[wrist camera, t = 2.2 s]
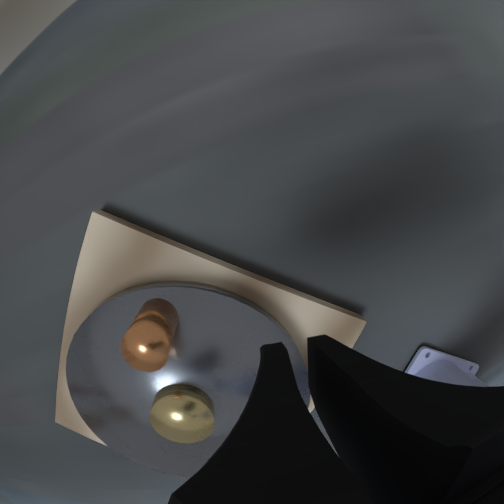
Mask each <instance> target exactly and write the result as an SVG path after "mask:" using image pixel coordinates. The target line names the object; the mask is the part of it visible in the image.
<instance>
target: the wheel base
mask: <svg viewBox="0 0 504 504" xmlns="http://www.w3.org/2000/svg"><path fill="white" fill-rule="evenodd" d="M171 280H179V281H193V282H199V283H204V284H209V285H214V286H217V287H220V288H223V289H226V290H230V291H232V292H234V293H237V294H239V295H241V296H243V297H245V298H248V299H249V300H251V301H252V302H254V303H256V304H257V305H259V306H261V307H262V308H264V309H265V310H266V311H267V312H268V313H270V314H271V315H272V316H273V317H275V318H276V319H277V320H278V321H279V322H280V324H281V325H282V326H283V327H284V328H285V329H286V330H287V331H288V333H289V334H290V336H291V337H292V339H293V340H294V342H295V344H296V346H297V348H298V350H299V352H300V354H301V356H302V358H303V360H304V362H305V365H306V368H307V371H308V354H307V338H308V337H313V336H318V335H324V334H325V335H328V336H330V337H331V338H333V339H335V340H337V341H339V342H340V343H342V344H344V345H346V346H348V347H349V348H351V349H352V347H353V346H354V344H355V342H356V340H357V339H358V337H359V335H360V333H361V332H362V330H363V328H364V326H365V324H366V322H367V321H366V320H365V319H364V318H363V317H362V316H361V315H360V314H357V313H355V312H352V311H350V310H347V309H344V308H342V307H339V306H337V305H334V304H331V303H329V302H326V301H324V300H321V299H318V298H316V297H313V296H311V295H308V294H305V293H303V292H300V291H298V290H295V289H293V288H290V287H288V286H285V285H282V284H280V283H277V282H275V281H272V280H270V279H267V278H265V277H262V276H260V275H257V274H255V273H252V272H250V271H247V270H245V269H242V268H240V267H237V266H235V265H232V264H230V263H227V262H225V261H222V260H220V259H217V258H215V257H213V256H210V255H208V254H205V253H203V252H200V251H198V250H195V249H193V248H190V247H188V246H186V245H183V244H181V243H178V242H176V241H174V240H171V239H169V238H166V237H164V236H161V235H159V234H157V233H154V232H152V231H150V230H147V229H145V228H142V227H140V226H138V225H135V224H133V223H130V222H128V221H126V220H123V219H121V218H119V217H116V216H114V215H112V214H109V213H107V212H105V211H102V210H97V211H93V212H92V215H91V218H90V221H89V224H88V228H87V231H86V234H85V238H84V241H83V245H82V249H81V252H80V256H79V260H78V264H77V268H76V272H75V277H74V281H73V285H72V290H71V295H70V300H69V305H68V310H67V316H66V321H65V327H64V334H63V340H62V347H61V355H60V363H59V373H58V384H57V397H56V418H55V422H57V423H59V424H61V425H63V426H65V427H67V428H69V429H71V430H73V431H75V432H77V433H79V434H81V435H83V436H86V437H88V438H90V439H92V440H95V441H97V442H99V443H102V444H104V445H106V444H105V443H104V442H103V441H102V440H100V439H99V438H98V437H97V436H96V435H95V434H94V433H93V432H92V431H91V429H90V428H89V427H88V426H87V424H86V423H85V422H84V420H83V419H82V418H81V416H80V414H79V413H78V411H77V409H76V407H75V405H74V403H73V401H72V398H71V396H70V392H69V389H68V385H67V378H66V358H67V354H68V349H69V346H70V343H71V341H72V339H73V336H74V334H75V333H76V331H77V330H78V328H79V327H80V325H81V324H82V323H83V322H84V320H85V319H86V318H87V317H88V316H89V315H90V314H91V313H92V312H93V311H94V310H95V309H96V308H97V307H98V306H99V305H100V304H101V303H103V302H104V301H105V300H107V299H108V298H110V297H111V296H113V295H115V294H117V293H119V292H121V291H123V290H125V289H128V288H131V287H134V286H137V285H140V284H145V283H151V282H156V281H171ZM314 407H315V406H314V403H313V400H312V397H311V394H310V403H309V407H308V410H309V412H310V413H311V411H312V410H313V409H314ZM106 446H107V445H106Z"/></svg>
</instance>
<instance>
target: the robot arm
mask: <svg viewBox="0 0 504 504" xmlns="http://www.w3.org/2000/svg"><path fill="white" fill-rule="evenodd" d="M307 354H308V387H309V390H310V394H311V397H312V400H313V403H314V406H315V409H316V411H317V413H318V415H319V418H320V420H321V422H322V424H323V426H324V428H325V430H326V432H327V434H328V436H329V438H330V440H331V442H332V444H333V446H334V448H335V450H336V452H337V454H338V455H337V454H336V453H335V452H334V450H333V449H332V447H331V446H330V444H329V443H328V441H327V440H326V438H325V437H324V435H323V434H322V432H321V431H320V429H319V428H318V426H317V424H316V422H315V421H314V419H313V417H312V415H311V414H310V412H309V410H308V408H307V406H306V404H305V402H304V400H303V398H302V396H301V394H300V392H299V389H298V386H297V383H296V379H295V376H294V372H293V368H292V364H291V361H290V357H289V354H288V350H287V349H286V347H285V346H284V344H283V343H282V342H278V343H272V344H265V345H262V346H261V347H260V364H259V369H258V373H257V377H256V380H255V383H254V386H253V389H252V391H251V394H250V397H249V399H248V401H247V404H246V406H245V408H244V410H243V412H242V414H241V415H240V417H239V419H238V421H237V423H236V424H235V426H234V427H233V429H232V430H231V432H230V433H229V435H228V436H227V438H226V439H225V441H224V442H223V443H222V445H221V446H220V447H219V448H218V449H217V451H216V452H215V453H214V454H213V455H212V456H211V458H210V459H209V460H208V461H207V462H206V463H205V464H204V465H203V466H202V468H201V469H200V470H199V471H198V472H196V473H195V474H194V475H193V476H192V477H191V478H190V479H189V480H187V481H186V482H185V483H184V484H183V485H182V486H181V487H179V488H178V489H177V490H176V491H175V492H173V493H172V495H171V497H170V499H169V502H168V504H504V386H500V387H488V386H487V385H486V384H485V383H483V382H482V381H481V380H480V379H479V378H477V377H476V376H475V374H476V372H477V371H478V369H479V365H478V364H477V363H474V362H471V361H468V360H465V359H462V358H459V357H456V356H453V355H450V354H447V353H444V352H441V351H438V350H435V349H432V348H429V347H426V346H422V347H421V348H419V350H418V351H417V353H416V354H415V356H414V358H413V359H412V361H411V362H410V364H409V366H408V367H407V369H406V370H405V372H402V371H399V370H396V369H394V368H391V367H389V366H386V365H384V364H382V363H379V362H377V361H375V360H373V359H371V358H369V357H367V356H365V355H363V354H361V353H359V352H357V351H355V350H353V349H351V348H349V347H348V346H346V345H344V344H342V343H340V342H339V341H337V340H335V339H333V338H331V337H330V336H328V335H325V334H324V335H318V336H313V337H308V338H307ZM338 456H339V457H340V458H339V457H338Z"/></svg>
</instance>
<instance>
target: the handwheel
mask: <svg viewBox="0 0 504 504" xmlns="http://www.w3.org/2000/svg"><path fill="white" fill-rule="evenodd" d="M278 342H282V343H283V344H284V346H285V347H286V349H287V350H288V354H289V357H290V361H291V364H292V368H293V372H294V376H295V379H296V383H297V386H298V389H299V392H300V394H301V396H302V398H303V400H304V402H305V404H306V406H307V408H308V407H309V403H310V390H309V387H308V371H307V368H306V365H305V362H304V360H303V358H302V356H301V354H300V352H299V350H298V348H297V346H296V344H295V342H294V340H293V339H292V337H291V336H290V334H289V333H288V331H287V330H286V329H285V328H284V327H283V326H282V325H281V324H280V322H279V321H278V320H277V319H276V318H275V317H273V316H272V315H271V314H270V313H268V312H267V311H266V310H265V309H264V308H262V307H261V306H259V305H257V304H256V303H254V302H252V301H251V300H249V299H248V298H245V297H243V296H241V295H239V294H237V293H234V292H232V291H230V290H226V289H223V288H220V287H217V286H214V285H209V284H204V283H199V282H193V281H179V280H171V281H156V282H151V283H145V284H140V285H137V286H134V287H131V288H128V289H125V290H123V291H121V292H119V293H117V294H115V295H113V296H111V297H110V298H108V299H107V300H105V301H104V302H103V303H101V304H100V305H99V306H98V307H97V308H96V309H95V310H94V311H93V312H92V313H91V314H90V315H89V316H88V317H87V318H86V319H85V320H84V322H83V323H82V324H81V325H80V327H79V328H78V330H77V331H76V333H75V334H74V336H73V339H72V341H71V343H70V346H69V349H68V354H67V358H66V378H67V385H68V389H69V392H70V396H71V398H72V401H73V403H74V405H75V407H76V409H77V411H78V413H79V414H80V416H81V418H82V419H83V420H84V422H85V423H86V424H87V426H88V427H89V428H90V429H91V431H92V432H93V433H94V434H95V435H96V436H97V437H98V438H99V439H100V440H102V441H103V442H104V443H105V444H106V445H107V446H109V447H110V448H111V449H113V450H114V451H116V452H117V453H118V454H120V455H122V456H124V457H125V458H127V459H129V460H131V461H133V462H135V463H137V464H139V465H142V466H144V467H147V468H150V469H152V470H155V471H159V472H163V473H167V474H172V475H178V476H187V477H192V476H193V475H194V474H195V473H196V472H198V471H199V470H200V469H201V468H202V466H203V465H204V464H205V463H206V462H207V461H208V460H209V459H210V458H211V456H212V455H213V454H214V453H215V452H216V451H217V449H218V448H219V447H220V446H221V445H222V443H223V442H224V441H225V439H226V438H227V436H228V435H229V433H230V432H231V430H232V429H233V427H234V426H235V424H236V423H237V421H238V419H239V417H240V415H241V414H242V412H243V410H244V408H245V406H246V404H247V401H248V399H249V397H250V394H251V391H252V389H253V386H254V383H255V380H256V377H257V373H258V369H259V364H260V347H261V346H262V345H265V344H272V343H278Z"/></svg>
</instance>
